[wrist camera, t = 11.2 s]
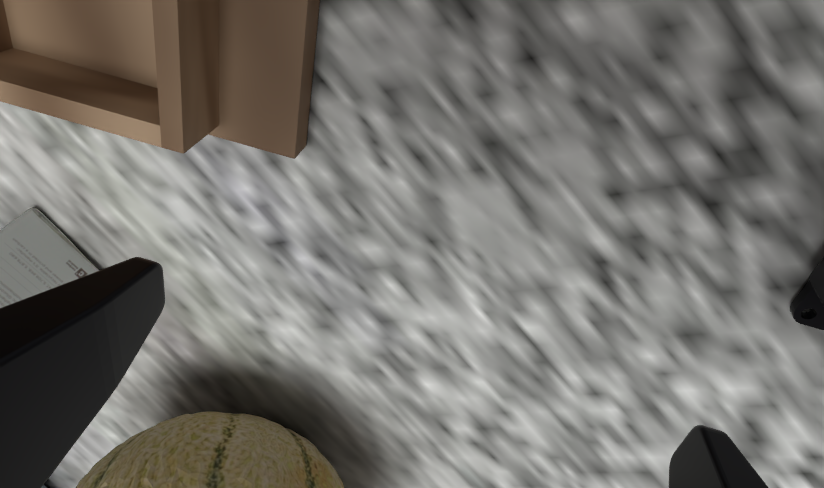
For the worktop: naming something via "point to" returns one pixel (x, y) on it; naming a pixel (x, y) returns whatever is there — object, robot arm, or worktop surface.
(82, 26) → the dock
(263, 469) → the cantaloupe
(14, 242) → the skincare box
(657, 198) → the worktop surface
